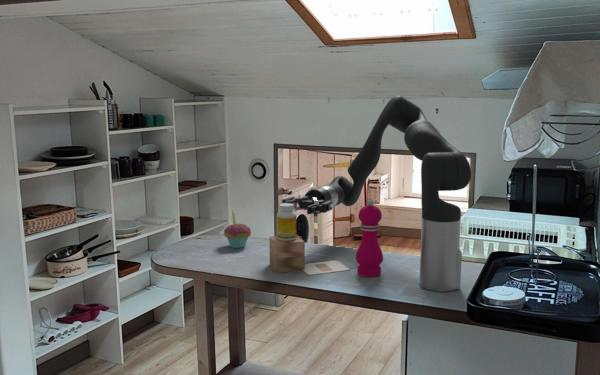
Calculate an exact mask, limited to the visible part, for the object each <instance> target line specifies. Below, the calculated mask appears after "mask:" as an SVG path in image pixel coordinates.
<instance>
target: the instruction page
mask: <svg viewBox="0 0 600 375" xmlns="http://www.w3.org/2000/svg"><path fill="white" fill-rule="evenodd" d="M302 271H303V272H304V273H305V274H307V275H308V276H316V275H322V274H330V273H331V274H332V273H338V272H345V271H351V269H350V268H348V267H347V266H346V265H344V264H343V263H341V262H340V261H338V260H329V261H328V260H327V261H321V262H320V261H319V262H313V263H305V269H304V270H302Z"/></svg>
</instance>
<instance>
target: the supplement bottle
mask: <svg viewBox="0 0 600 375" xmlns="http://www.w3.org/2000/svg"><path fill="white" fill-rule="evenodd" d="M278 209H279V211H278V212H277V213H276V236H277V239H278V240H282V241H292V240H295V239H296V235H297V213H296V212H295V211H294V204H291V203H283V204H281V203H280V204H279V206H278Z"/></svg>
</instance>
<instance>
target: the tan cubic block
mask: <svg viewBox="0 0 600 375" xmlns="http://www.w3.org/2000/svg"><path fill="white" fill-rule="evenodd" d="M305 242H306V241H305V240H303V238H302V237H300V235H299V234H296V239H295V240H292V241H282V240H278V239H277V235H273V236H270V235H269V265H270V266H271V268H272V269H273V272H275V273H277V274H278V273H286V272H287V273H289V272H298V271H300V272H301V271H303V270H304V269H305V264H306V263H305V262H306V253H305V252H306V250H305V248H306V245H305Z"/></svg>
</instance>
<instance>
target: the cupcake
mask: <svg viewBox="0 0 600 375" xmlns="http://www.w3.org/2000/svg"><path fill="white" fill-rule="evenodd" d="M231 215H232V216H231V217H232V224H230V225H228V226H226V227H225V228H224V230H223V236H224V237H225V238H226V239H227V240H228V241H227V242H228V244H229V246H230V248H233V249H241V248H245V247H246V244H247V243H248V242H247V241H248V239H249V237H251V235H252V231H251V228H250V226H247V225H246V224H243V223H236V217H235V216H236V215H235V212H234V210H233V209H232V212H231ZM244 246H245V247H244Z"/></svg>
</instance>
